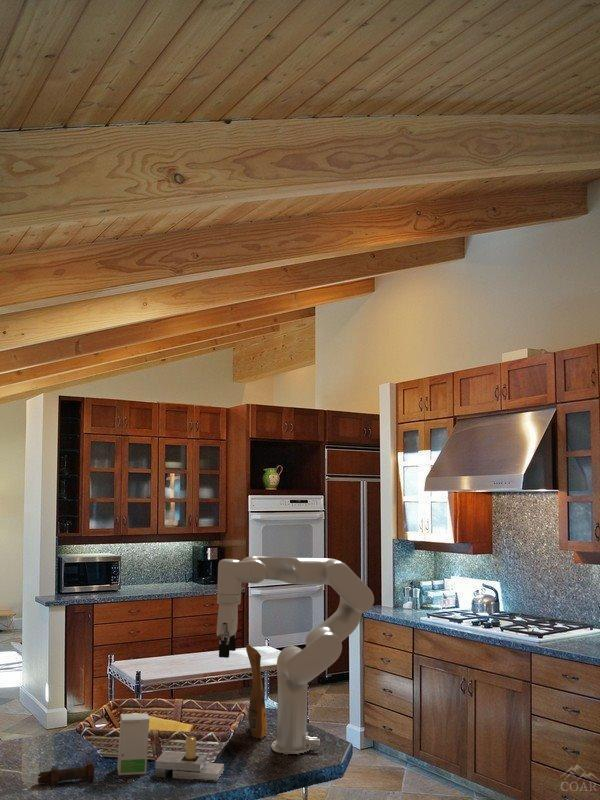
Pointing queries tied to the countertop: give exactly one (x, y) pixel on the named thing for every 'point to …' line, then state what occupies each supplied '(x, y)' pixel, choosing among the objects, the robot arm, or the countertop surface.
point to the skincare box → (133, 744)
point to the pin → (190, 749)
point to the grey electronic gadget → (187, 767)
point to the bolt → (67, 774)
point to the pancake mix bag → (256, 697)
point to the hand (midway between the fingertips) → (227, 653)
